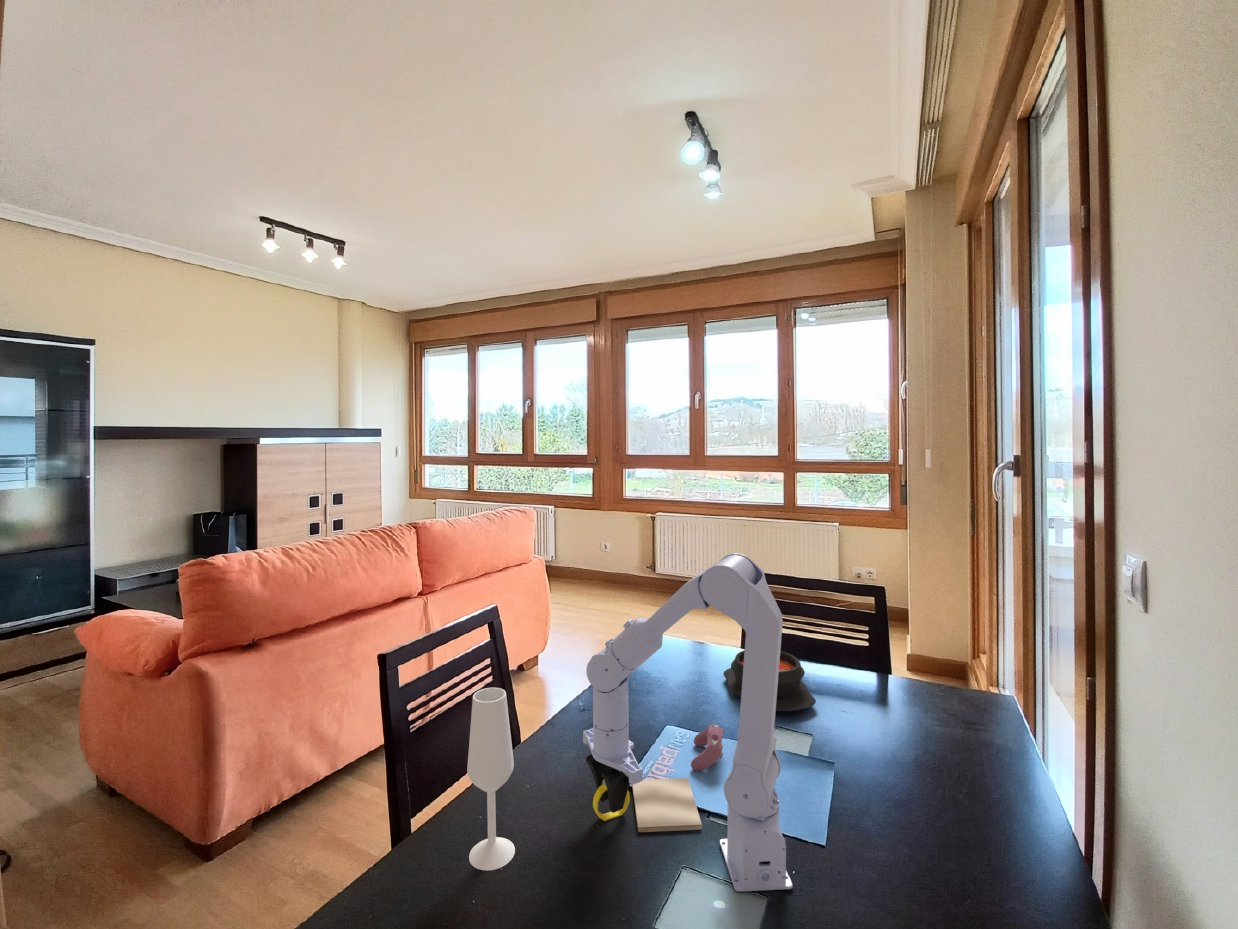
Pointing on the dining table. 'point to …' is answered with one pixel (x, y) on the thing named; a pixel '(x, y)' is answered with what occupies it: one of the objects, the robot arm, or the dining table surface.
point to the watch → (609, 814)
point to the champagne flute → (490, 770)
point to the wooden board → (665, 805)
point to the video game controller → (708, 747)
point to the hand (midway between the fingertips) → (611, 804)
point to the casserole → (789, 682)
